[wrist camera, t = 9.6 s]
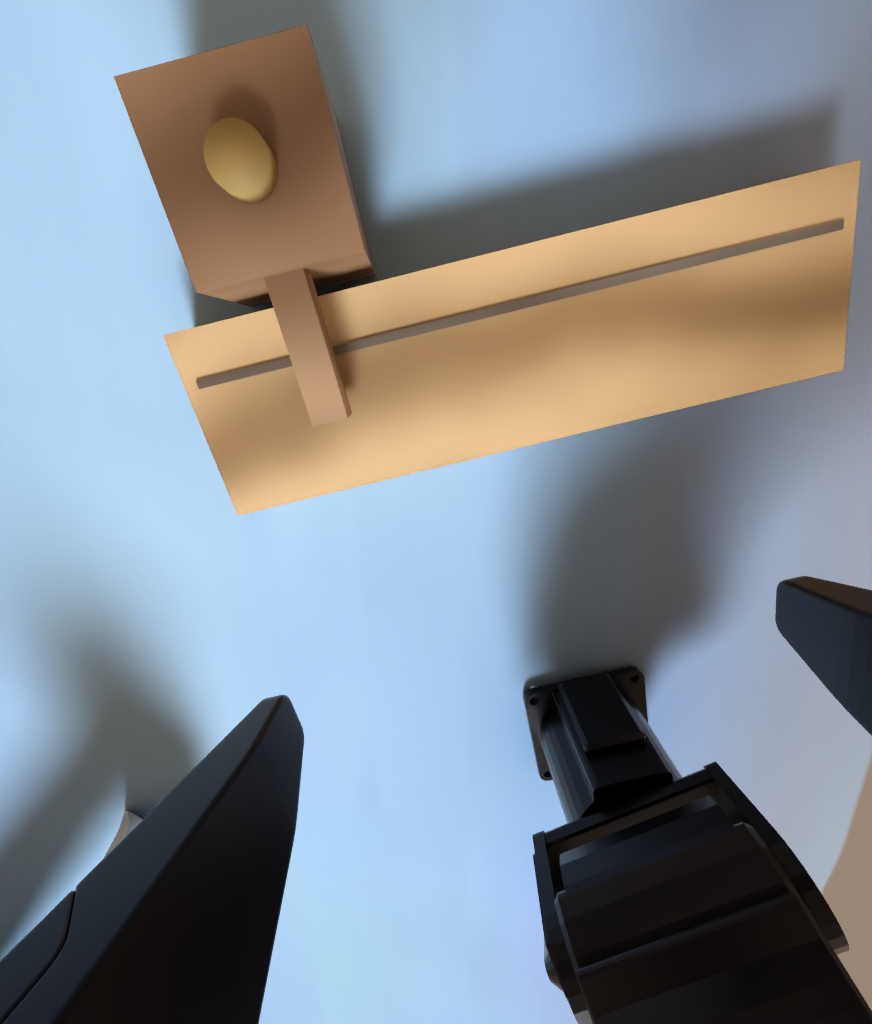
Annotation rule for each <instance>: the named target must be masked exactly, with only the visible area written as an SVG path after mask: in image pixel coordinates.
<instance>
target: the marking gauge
mask: <svg viewBox="0 0 872 1024" xmlns="http://www.w3.org/2000/svg"><path fill="white" fill-rule="evenodd" d="M114 78H115V81H116V84H117V86H118V89H119V91H120V94H121V97H122V99H123V102H124V105H125V107H126V110H127V112H128V115H129V118H130V120H131V123H132V126H133V128H134V131H135V133H136V136H137V139H138V141H139V144H140V147H141V149H142V152H143V154H144V157H145V160H146V162H147V165H148V168H149V170H150V173H151V175H152V178H153V181H154V183H155V186H156V189H157V191H158V194H159V196H160V199H161V202H162V204H163V207H164V210H165V212H166V215H167V217H168V220H169V223H170V225H171V228H172V231H173V233H174V236H175V238H176V241H177V244H178V246H179V249H180V252H181V254H182V257H183V259H184V262H185V265H186V267H187V270H188V273H189V275H190V278H191V280H192V283H193V286H194V288H195V291H196V293H200V294H204V295H208V296H212V297H216V298H220V299H224V300H228V301H232V302H236V303H240V304H244V305H248V306H256V305H260V304H264V303H268V302H272V305H273V308H274V311H275V314H276V317H277V320H278V323H279V326H280V329H281V332H282V335H283V338H284V341H285V344H286V347H287V350H288V353H289V356H290V359H291V363H292V366H293V369H294V372H295V375H296V378H297V381H298V384H299V387H300V390H301V393H302V396H303V399H304V402H305V405H306V408H307V411H308V414H309V417H310V420H311V423H312V426H313V427H314V426H318V425H322V424H326V423H330V422H334V421H338V420H342V419H346V418H348V417H349V416H350V415H351V414H352V411H351V408H350V404H349V401H348V397H347V394H346V391H345V387H344V384H343V380H342V377H341V374H340V370H339V367H338V364H337V360H336V357H335V353H334V350H333V347H332V343H331V340H330V336H329V333H328V330H327V326H326V323H325V320H324V316H323V313H322V309H321V306H320V303H319V299H318V296H317V292H316V290H319V289H323V288H326V287H330V286H334V285H338V284H342V283H346V282H350V281H354V280H358V279H362V278H366V277H370V276H374V275H376V274H375V270H374V266H373V262H372V258H371V254H370V250H369V246H368V242H367V238H366V234H365V230H364V226H363V222H362V218H361V214H360V210H359V206H358V202H357V198H356V194H355V190H354V186H353V182H352V178H351V174H350V170H349V166H348V162H347V158H346V154H345V150H344V146H343V142H342V138H341V134H340V130H339V126H338V122H337V118H336V115H335V112H334V108H333V105H332V102H331V99H330V96H329V93H328V89H327V86H326V83H325V80H324V77H323V74H322V70H321V67H320V64H319V61H318V58H317V55H316V51H315V48H314V45H313V42H312V39H311V36H310V32H309V29H308V26H307V25H303V26H299V27H296V28H292V29H288V30H285V31H281V32H277V33H274V34H270V35H266V36H262V37H259V38H255V39H251V40H248V41H244V42H240V43H237V44H233V45H229V46H225V47H222V48H218V49H214V50H211V51H207V52H203V53H199V54H196V55H192V56H188V57H185V58H181V59H177V60H174V61H170V62H166V63H162V64H159V65H155V66H151V67H148V68H144V69H140V70H137V71H133V72H129V73H125V74H122V75H118V76H114Z"/></svg>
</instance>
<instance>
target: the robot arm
mask: <svg viewBox="0 0 872 1024" xmlns="http://www.w3.org/2000/svg"><path fill="white" fill-rule="evenodd" d="M775 619H776V624H777V627H778V629H779V631H780V633H781V634H782V636H783V637H784V638H785V639H786V640H787V641H788V643H789V644H790V645H791V646H792V647H793V648H794V650H795V651H796V652H797V653H798V654H799V656H800V657H801V658H802V659H803V660H804V661H805V663H806V664H807V665H808V666H809V667H810V669H811V670H812V671H813V672H814V673H815V674H816V676H817V677H818V678H819V679H820V680H821V681H822V683H823V684H824V685H825V686H826V687H827V689H828V690H829V691H830V692H831V693H832V694H833V696H834V697H835V698H836V699H837V700H838V701H839V702H840V703H841V705H842V706H843V707H844V708H845V709H846V710H847V711H848V712H849V713H850V714H851V715H852V716H853V717H854V718H855V719H856V720H857V721H858V722H859V723H860V724H861V725H862V726H863V727H864V728H865V729H866V730H867V731H868V732H869V733H870V734H871V735H872V590H867V589H863V588H858V587H854V586H849V585H845V584H840V583H836V582H831V581H826V580H822V579H817V578H813V577H808V576H801V577H796V578H792V579H787V580H783V581H782V582H780V583H779V584H778V586H777V593H776V618H775ZM633 675H635V676H634V677H632V676H633ZM631 677H632V678H631ZM532 698H535V699H534V700H530V699H532ZM523 700H524V704H525V709H526V714H527V719H528V724H529V729H530V733H531V738H532V743H533V748H534V753H535V758H536V762H537V767H538V771H539V775H540V777H541V779H543V780H546V781H547V780H553V781H554V784H555V787H556V790H557V793H558V796H559V799H560V802H561V805H562V808H563V811H564V814H565V817H566V820H567V823H568V824H565V825H563V826H560V827H558V828H555V829H553V830H550V831H548V832H544V831H542V832H539V833H537V834H534V835H533V842H534V849H535V854H534V855H533V859H534V866H535V873H536V880H537V888H538V895H539V902H540V909H541V916H542V924H543V931H544V961H545V967H546V971H547V974H548V977H549V979H550V981H551V982H552V983H553V984H554V985H556V986H557V987H558V988H559V989H560V990H562V991H563V992H564V994H565V996H566V998H567V1000H568V1002H569V1004H570V1006H571V1009H572V1011H573V1014H574V1016H575V1018H576V1020H577V1022H578V1024H872V1011H871V1009H870V1008H869V1006H868V1004H867V1003H866V1001H865V1000H864V998H863V996H862V995H861V993H860V992H859V990H858V988H857V987H856V985H855V984H854V982H853V981H852V979H851V978H850V976H849V974H848V972H847V971H846V969H845V968H844V966H843V964H842V963H841V961H840V960H839V958H838V956H837V954H839V953H842V952H845V951H848V950H849V945H848V942H847V940H846V937H845V935H844V933H843V931H842V929H841V927H840V925H839V923H838V921H837V919H836V917H835V916H834V914H833V912H832V911H831V909H830V907H829V905H828V904H827V902H826V901H825V899H824V897H823V896H822V894H821V892H820V891H819V889H818V888H817V886H816V885H815V883H814V882H813V880H812V879H811V877H810V876H809V874H808V873H807V871H806V870H805V868H804V867H803V865H802V864H801V863H800V861H799V860H798V858H797V857H796V856H795V854H794V853H793V852H792V850H791V849H790V848H789V846H788V845H787V844H786V842H785V841H784V840H783V839H782V837H781V836H780V835H779V834H778V833H777V831H776V830H775V829H774V828H773V827H772V826H771V824H770V823H769V822H768V821H767V820H766V819H765V818H764V816H763V815H762V814H761V813H760V812H759V811H758V809H757V808H756V807H755V806H754V805H753V804H752V803H751V801H750V800H749V799H748V798H747V797H746V796H745V795H744V793H743V792H742V791H741V790H740V789H739V788H738V787H737V785H736V784H735V783H734V782H733V781H732V780H731V779H730V777H729V776H728V775H727V774H726V773H725V772H724V771H723V769H722V768H721V767H720V766H719V765H718V764H717V763H716V762H713V763H711V764H708V765H706V766H704V769H702V770H700V771H697V772H695V773H692V774H690V775H687V776H685V777H681V775H680V773H679V772H678V770H677V769H676V767H675V766H674V764H673V762H672V761H671V759H670V758H669V756H668V755H667V753H666V751H665V750H664V748H663V747H662V745H661V743H660V742H659V740H658V739H657V737H656V736H655V734H654V732H653V731H652V729H651V728H650V726H649V725H648V718H647V707H646V695H645V683H644V676H643V673H642V672H641V671H640V669H639V668H638V667H635V666H631V667H626V668H622V669H617V670H613V671H608V672H604V673H600V674H595V675H591V676H586V677H582V678H577V679H573V680H569V681H564V682H560V683H555V684H551V685H546V686H542V687H538V688H533V689H530V690H527V691H526V692H525V693H524V695H523ZM303 746H304V733H303V728H302V726H301V723H300V721H299V719H298V717H297V714H296V712H295V710H294V707H293V705H292V703H291V701H290V699H289V698H288V697H287V696H286V695H279V696H275V697H270V698H266V699H264V700H262V701H261V702H260V703H259V704H258V705H257V706H256V707H255V708H254V709H253V710H252V711H251V712H250V713H249V714H248V715H247V716H246V717H245V718H244V719H243V720H242V721H241V722H240V723H239V724H238V725H237V726H236V727H235V728H234V729H233V730H232V731H231V732H230V733H229V734H228V735H227V736H226V737H225V738H224V739H223V740H222V741H221V742H220V743H219V744H218V745H217V746H216V747H215V748H214V749H213V750H212V751H211V752H210V753H209V754H208V755H207V756H206V757H205V758H204V759H203V760H202V761H201V762H200V763H199V764H198V765H197V766H196V767H195V768H194V769H193V770H192V771H191V772H190V773H189V774H188V775H187V776H186V777H185V778H184V779H183V780H182V781H181V782H180V783H179V784H178V785H177V786H176V787H175V788H174V789H173V790H172V791H171V792H170V793H169V794H168V795H167V796H166V797H165V798H164V799H163V800H162V801H161V802H160V803H159V804H158V805H157V806H156V807H155V808H154V809H153V810H152V811H151V812H150V813H149V814H148V815H147V816H146V817H145V818H144V819H143V820H142V821H141V822H140V823H139V824H138V825H137V826H136V827H135V828H134V829H133V830H132V831H131V832H130V833H129V834H128V835H127V836H126V837H125V838H124V839H123V840H122V841H121V842H120V843H119V844H118V845H117V846H116V847H115V848H114V849H113V850H112V851H111V852H110V853H109V854H108V855H107V856H106V857H105V858H104V859H103V860H102V861H101V862H100V863H99V864H98V865H97V866H96V867H95V868H94V869H93V870H92V871H91V872H90V873H89V874H88V875H87V876H86V877H85V878H84V879H83V880H82V881H81V882H80V883H79V884H78V885H77V887H76V891H71V892H70V893H69V894H68V895H67V896H66V897H65V898H64V899H63V900H62V901H61V902H60V903H59V904H58V905H57V906H56V907H55V908H54V909H53V910H52V911H51V912H50V913H49V914H48V915H47V916H46V917H45V918H44V919H43V920H42V921H41V922H40V923H39V924H38V925H37V926H36V927H35V928H34V929H33V930H32V931H31V932H29V933H28V934H27V935H26V936H25V937H24V938H23V939H22V940H21V941H20V942H19V943H18V944H17V945H16V946H15V947H14V948H13V949H12V950H11V951H10V952H9V953H8V954H7V955H6V956H5V957H4V958H3V959H2V960H1V961H0V1024H258V1023H259V1018H260V1013H261V1007H262V1002H263V997H264V992H265V987H266V982H267V976H268V971H269V966H270V961H271V956H272V951H273V945H274V940H275V935H276V930H277V925H278V919H279V914H280V909H281V904H282V899H283V894H284V888H285V883H286V878H287V873H288V868H289V863H290V857H291V852H292V847H293V841H294V835H295V829H296V821H297V812H298V801H299V790H300V779H301V768H302V757H303Z"/></svg>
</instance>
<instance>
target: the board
mask: <svg viewBox="0 0 872 1024" xmlns="http://www.w3.org/2000/svg"><path fill="white" fill-rule="evenodd" d="M860 164H861V160H857V161H853V162H849V163H845V164H841V165H837V166H833V167H829V168H825V169H821V170H817V171H813V172H809V173H805V174H801V175H797V176H793V177H789V178H785V179H781V180H777V181H773V182H769V183H765V184H761V185H757V186H754V187H750V188H746V189H742V190H738V191H734V192H730V193H726V194H722V195H718V196H714V197H710V198H706V199H702V200H698V201H694V202H690V203H686V204H682V205H678V206H674V207H670V208H666V209H662V210H658V211H654V212H650V213H646V214H642V215H639V216H635V217H631V218H627V219H623V220H619V221H615V222H611V223H607V224H603V225H599V226H595V227H591V228H587V229H583V230H579V231H575V232H571V233H567V234H563V235H559V236H555V237H551V238H547V239H543V240H539V241H535V242H531V243H527V244H524V245H520V246H516V247H512V248H508V249H504V250H500V251H496V252H492V253H488V254H484V255H480V256H476V257H472V258H468V259H464V260H460V261H456V262H452V263H448V264H444V265H440V266H436V267H432V268H428V269H424V270H420V271H416V272H412V273H408V274H405V275H401V276H397V277H393V278H389V279H385V280H381V281H377V282H373V283H369V284H365V285H361V286H357V287H353V288H349V289H345V290H341V291H337V292H333V293H329V294H325V295H321V296H318V299H319V303H320V306H321V309H322V313H323V316H324V320H325V323H326V326H327V330H328V333H329V336H330V340H331V343H332V347H333V350H334V353H335V357H336V360H337V364H338V367H339V370H340V374H341V377H342V380H343V384H344V387H345V391H346V394H347V397H348V401H349V404H350V408H351V411H352V414H351V415H350V416H349V417H348V418H346V419H342V420H338V421H334V422H330V423H326V424H322V425H318V426H314V427H313V426H312V423H311V420H310V417H309V414H308V411H307V408H306V405H305V402H304V399H303V396H302V393H301V390H300V387H299V384H298V381H297V378H296V375H295V372H294V369H293V366H292V363H291V359H290V356H289V353H288V350H287V347H286V344H285V341H284V338H283V335H282V332H281V329H280V326H279V323H278V320H277V317H276V314H275V311H274V308H270V309H266V310H262V311H258V312H254V313H250V314H246V315H242V316H238V317H234V318H230V319H226V320H222V321H218V322H214V323H210V324H206V325H202V326H198V327H194V328H190V329H186V330H182V331H178V332H175V333H171V334H167V335H163V336H164V339H165V341H166V344H167V346H168V349H169V351H170V353H171V356H172V358H173V361H174V363H175V365H176V368H177V370H178V373H179V375H180V377H181V380H182V382H183V385H184V387H185V389H186V392H187V394H188V397H189V399H190V402H191V404H192V406H193V409H194V411H195V414H196V416H197V418H198V421H199V423H200V426H201V428H202V430H203V433H204V435H205V438H206V440H207V443H208V445H209V447H210V450H211V452H212V455H213V457H214V459H215V462H216V464H217V467H218V469H219V471H220V474H221V476H222V479H223V481H224V483H225V486H226V488H227V491H228V493H229V496H230V498H231V500H232V503H233V505H234V508H235V510H236V512H237V515H242V514H246V513H250V512H254V511H258V510H262V509H267V508H271V507H275V506H279V505H283V504H287V503H292V502H296V501H300V500H304V499H308V498H312V497H317V496H321V495H325V494H329V493H333V492H337V491H342V490H346V489H350V488H354V487H358V486H362V485H367V484H371V483H375V482H379V481H383V480H387V479H392V478H396V477H400V476H404V475H408V474H412V473H417V472H421V471H425V470H429V469H433V468H437V467H442V466H446V465H450V464H454V463H458V462H462V461H467V460H471V459H475V458H479V457H483V456H487V455H492V454H496V453H500V452H504V451H508V450H512V449H516V448H521V447H525V446H529V445H533V444H537V443H541V442H546V441H550V440H554V439H558V438H562V437H566V436H571V435H575V434H579V433H583V432H587V431H591V430H596V429H600V428H604V427H608V426H612V425H616V424H621V423H625V422H629V421H633V420H637V419H641V418H646V417H650V416H654V415H658V414H662V413H666V412H671V411H675V410H679V409H683V408H687V407H691V406H696V405H700V404H704V403H708V402H712V401H716V400H721V399H725V398H729V397H733V396H737V395H741V394H746V393H750V392H754V391H758V390H762V389H766V388H771V387H775V386H779V385H783V384H787V383H791V382H796V381H800V380H804V379H808V378H812V377H816V376H821V375H825V374H829V373H833V372H837V371H841V370H843V368H844V356H845V344H846V332H847V320H848V308H849V296H850V284H851V272H852V260H853V248H854V236H855V224H856V212H857V200H858V188H859V176H860Z"/></svg>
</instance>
